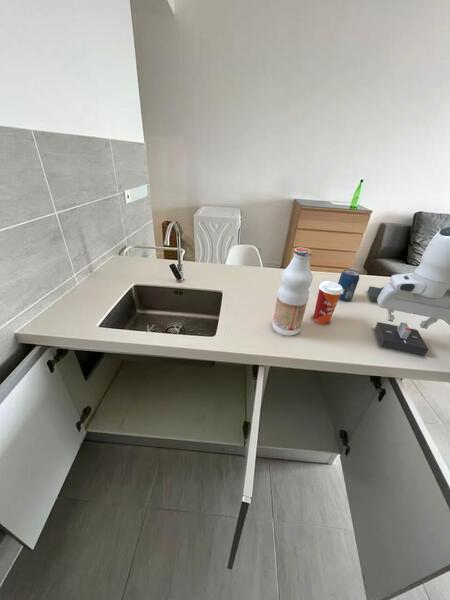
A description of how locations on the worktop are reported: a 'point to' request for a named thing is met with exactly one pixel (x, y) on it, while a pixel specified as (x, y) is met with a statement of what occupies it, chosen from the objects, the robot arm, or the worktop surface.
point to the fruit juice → (293, 293)
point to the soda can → (348, 284)
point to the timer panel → (400, 340)
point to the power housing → (374, 293)
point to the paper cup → (327, 301)
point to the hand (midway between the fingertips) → (405, 323)
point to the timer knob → (403, 330)
